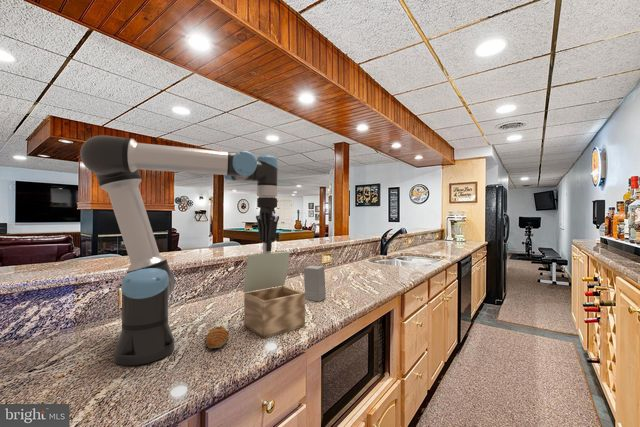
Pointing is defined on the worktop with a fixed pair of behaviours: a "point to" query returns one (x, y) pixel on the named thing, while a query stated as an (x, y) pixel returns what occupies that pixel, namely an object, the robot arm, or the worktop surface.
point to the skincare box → (314, 283)
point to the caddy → (274, 311)
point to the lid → (265, 271)
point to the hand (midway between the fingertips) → (266, 259)
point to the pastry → (216, 337)
